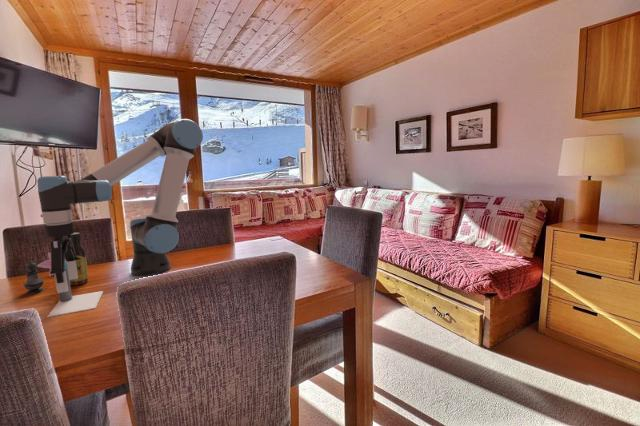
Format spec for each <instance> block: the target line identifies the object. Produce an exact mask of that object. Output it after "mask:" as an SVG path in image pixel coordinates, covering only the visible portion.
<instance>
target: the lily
mask: <svg viewBox="0 0 640 426" xmlns="http://www.w3.org/2000/svg"><path fill="white" fill-rule="evenodd" d="M47 257H48V259H47V260H44V261H41V262H40V263H38V264H36V267H38V268H44V269H49V272H48V275H49V276H48V277H52V276H53V275H54V274H50V271H51V252H47ZM65 261H66V259H65ZM51 275H52V276H51Z"/></svg>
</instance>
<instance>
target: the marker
mask: <svg viewBox="0 0 640 426" xmlns="http://www.w3.org/2000/svg"><path fill="white" fill-rule="evenodd" d="M57 269H58V268H57ZM64 271H65V272H66V278H67V284H68V291H67V292H61V293H58V296H59V301H61V302H65V301H69V300H71V299H72V296H73V294H72V288H71V285H70V280H69V274H68V265H67V261H65V264H64Z"/></svg>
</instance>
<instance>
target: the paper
mask: <svg viewBox="0 0 640 426" xmlns="http://www.w3.org/2000/svg"><path fill="white" fill-rule="evenodd" d="M103 293H104V290H101V291H94V292H87V293H82V294H76V295H72V299H71V300H69V301H65V302H61V301H60V300H59V301H58V302H57V303H56V305H55V306H54V307H53V308H52V310H51V311H50V313H48V315H47V316H46V317H47V318H51V317H52V318H53V317H58V316H62V315H63V316H64V315H67V314H68V315H69V314H74V313H78V312H85V311H90V310H94V309H95V310H96V308H97V306H98V304H99V303H100V302H99V301H100V300H101V298H102V295H103Z"/></svg>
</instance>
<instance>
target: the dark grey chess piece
mask: <svg viewBox="0 0 640 426" xmlns="http://www.w3.org/2000/svg"><path fill="white" fill-rule="evenodd" d="M24 267H25V271H26V272H25V273H24V274H25V275H26V281H25V282H23V283H22V286H23V287H24V288H25V289H26V290H27V291H26V292H25V294H26V295H34V294H38V293H41V292H44V291H45V290H46V289H45V288H44V287H43V286H44V281H45V279H43V278H39V273H38V272H39V270H37V263H35V262H34V261H31V259H29V260H28V262H27V263H26V264H25V266H24ZM42 287H43V288H42Z"/></svg>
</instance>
